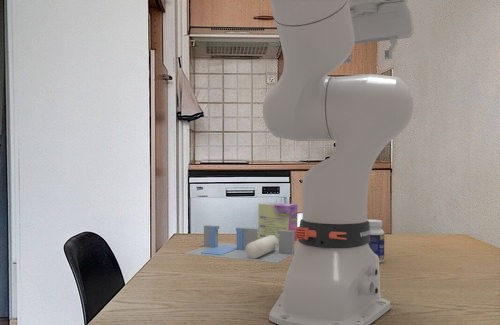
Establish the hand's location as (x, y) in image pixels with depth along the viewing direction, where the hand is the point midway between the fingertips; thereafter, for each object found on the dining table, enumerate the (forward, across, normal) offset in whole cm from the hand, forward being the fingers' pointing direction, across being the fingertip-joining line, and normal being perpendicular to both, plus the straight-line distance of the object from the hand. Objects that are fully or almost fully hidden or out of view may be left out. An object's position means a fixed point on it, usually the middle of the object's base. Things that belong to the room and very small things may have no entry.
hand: (367, 60), depth 107 cm
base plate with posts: (+48, -32, -1) cm, 58 cm away
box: (+48, -30, +18) cm, 60 cm away
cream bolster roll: (+47, -26, -2) cm, 54 cm away
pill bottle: (+48, 0, +5) cm, 48 cm away
